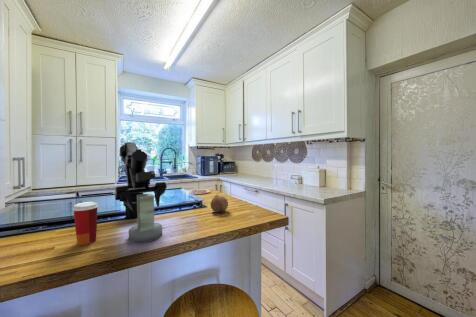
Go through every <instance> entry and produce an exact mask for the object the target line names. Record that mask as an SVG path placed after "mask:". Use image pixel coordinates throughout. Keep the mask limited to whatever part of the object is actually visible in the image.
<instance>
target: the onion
mask: <svg viewBox="0 0 476 317" xmlns="http://www.w3.org/2000/svg"><path fill="white" fill-rule="evenodd" d="M228 207H229V202H228V199H227V198H226V197H225V196H223V195H222V196H220V195H217V194H216V195H215V196H213V198H212V199H211V201H210V208H211V210H212V211H213V212H215V213H218V214H222V213H225V211H226V210H227V209H228Z"/></svg>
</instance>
